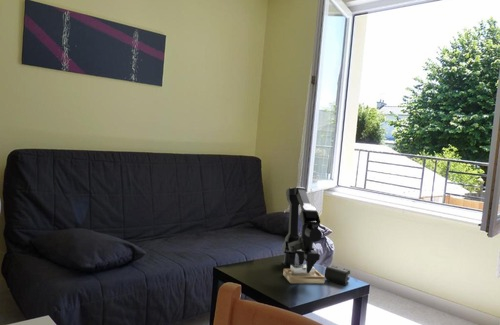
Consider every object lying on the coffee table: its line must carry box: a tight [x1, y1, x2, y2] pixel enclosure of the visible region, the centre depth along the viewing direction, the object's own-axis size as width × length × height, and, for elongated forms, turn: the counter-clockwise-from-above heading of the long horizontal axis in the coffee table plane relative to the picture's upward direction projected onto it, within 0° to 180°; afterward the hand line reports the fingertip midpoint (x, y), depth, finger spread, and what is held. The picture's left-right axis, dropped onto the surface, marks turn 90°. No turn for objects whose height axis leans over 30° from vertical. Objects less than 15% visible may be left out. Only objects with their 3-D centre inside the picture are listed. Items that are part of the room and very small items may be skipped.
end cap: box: [324, 265, 351, 286], centre depth 180 cm, size 10×7×7 cm
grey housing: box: [289, 264, 316, 276], centre depth 180 cm, size 10×5×4 cm, turn 105°
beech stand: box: [282, 268, 326, 284], centre depth 180 cm, size 11×16×3 cm
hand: (304, 269), depth 180 cm, fingers open, 9 cm apart
